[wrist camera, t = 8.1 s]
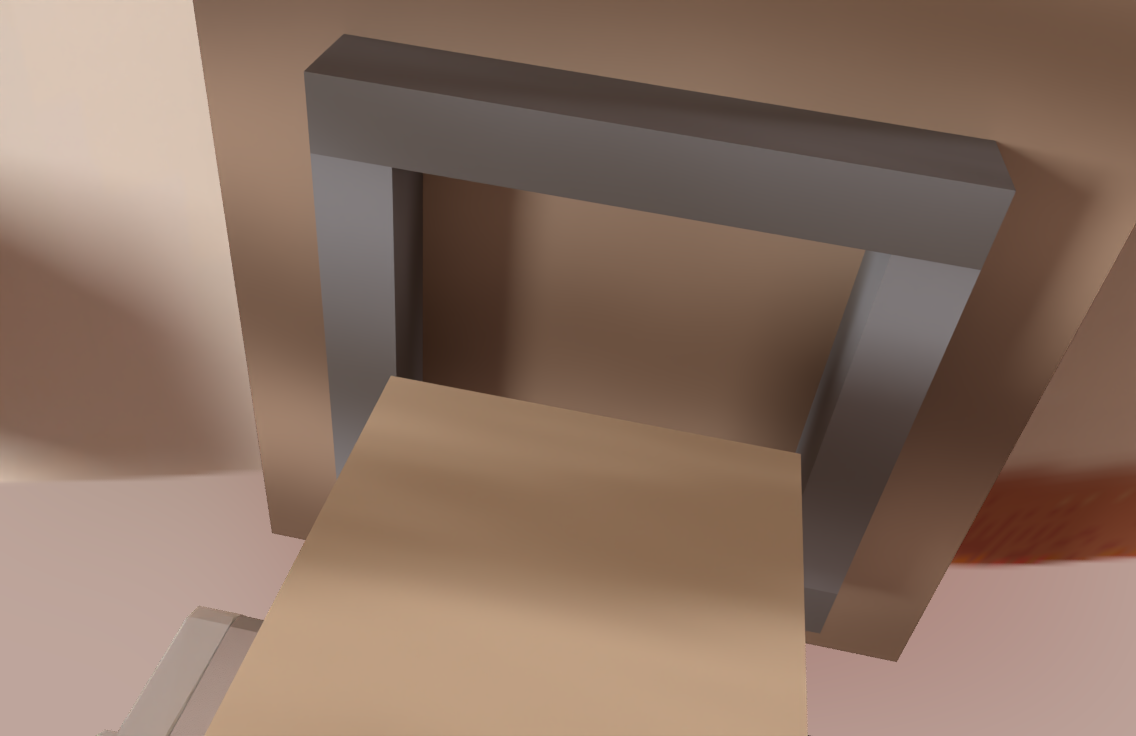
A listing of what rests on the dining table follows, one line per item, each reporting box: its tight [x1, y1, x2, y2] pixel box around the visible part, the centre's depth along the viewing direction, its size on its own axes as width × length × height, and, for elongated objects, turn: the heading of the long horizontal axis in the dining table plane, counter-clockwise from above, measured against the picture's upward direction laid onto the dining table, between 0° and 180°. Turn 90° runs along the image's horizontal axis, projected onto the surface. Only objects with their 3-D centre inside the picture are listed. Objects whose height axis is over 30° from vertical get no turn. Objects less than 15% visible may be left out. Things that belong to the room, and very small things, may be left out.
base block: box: [193, 0, 1136, 662], centre depth 17 cm, size 14×14×6 cm
